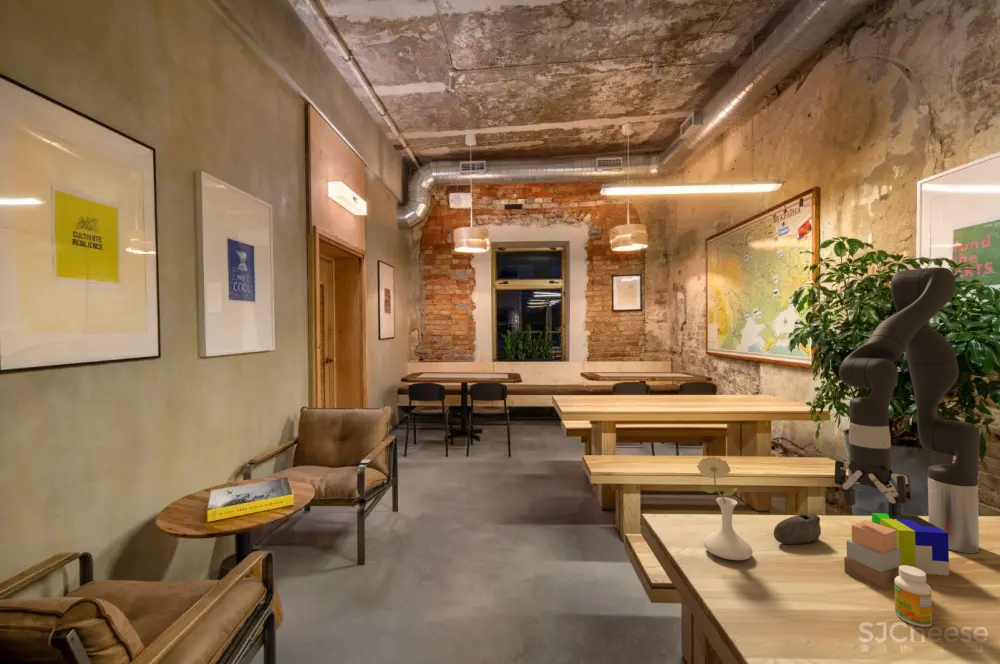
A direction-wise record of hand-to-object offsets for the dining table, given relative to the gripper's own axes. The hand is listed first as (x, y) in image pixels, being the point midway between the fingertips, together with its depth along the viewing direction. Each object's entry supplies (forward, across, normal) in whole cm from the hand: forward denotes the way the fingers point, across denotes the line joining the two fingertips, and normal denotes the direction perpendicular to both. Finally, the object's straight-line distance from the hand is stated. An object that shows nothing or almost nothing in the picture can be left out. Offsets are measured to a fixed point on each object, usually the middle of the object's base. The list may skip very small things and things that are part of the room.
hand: (871, 511), depth 102 cm
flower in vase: (+15, +22, +22) cm, 35 cm away
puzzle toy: (+16, 0, -15) cm, 22 cm away
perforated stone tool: (+16, +18, -1) cm, 24 cm away
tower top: (+12, 0, 0) cm, 12 cm away
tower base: (+16, 0, 0) cm, 16 cm away
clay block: (+8, 0, 0) cm, 8 cm away
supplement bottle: (+15, -12, +10) cm, 22 cm away
